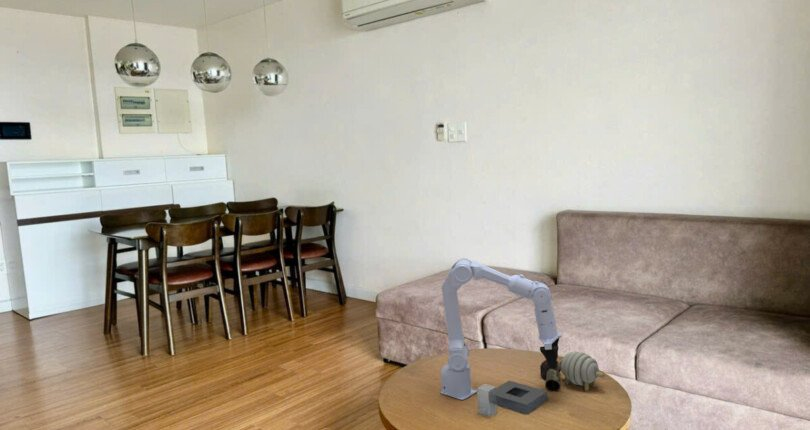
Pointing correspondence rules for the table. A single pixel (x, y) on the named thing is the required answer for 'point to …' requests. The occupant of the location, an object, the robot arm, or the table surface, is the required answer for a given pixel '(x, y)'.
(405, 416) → the table surface
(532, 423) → the table surface
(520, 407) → the grey slab with hole
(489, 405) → the grey wooden block
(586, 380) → the toy sheep
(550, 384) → the tube with rough end
